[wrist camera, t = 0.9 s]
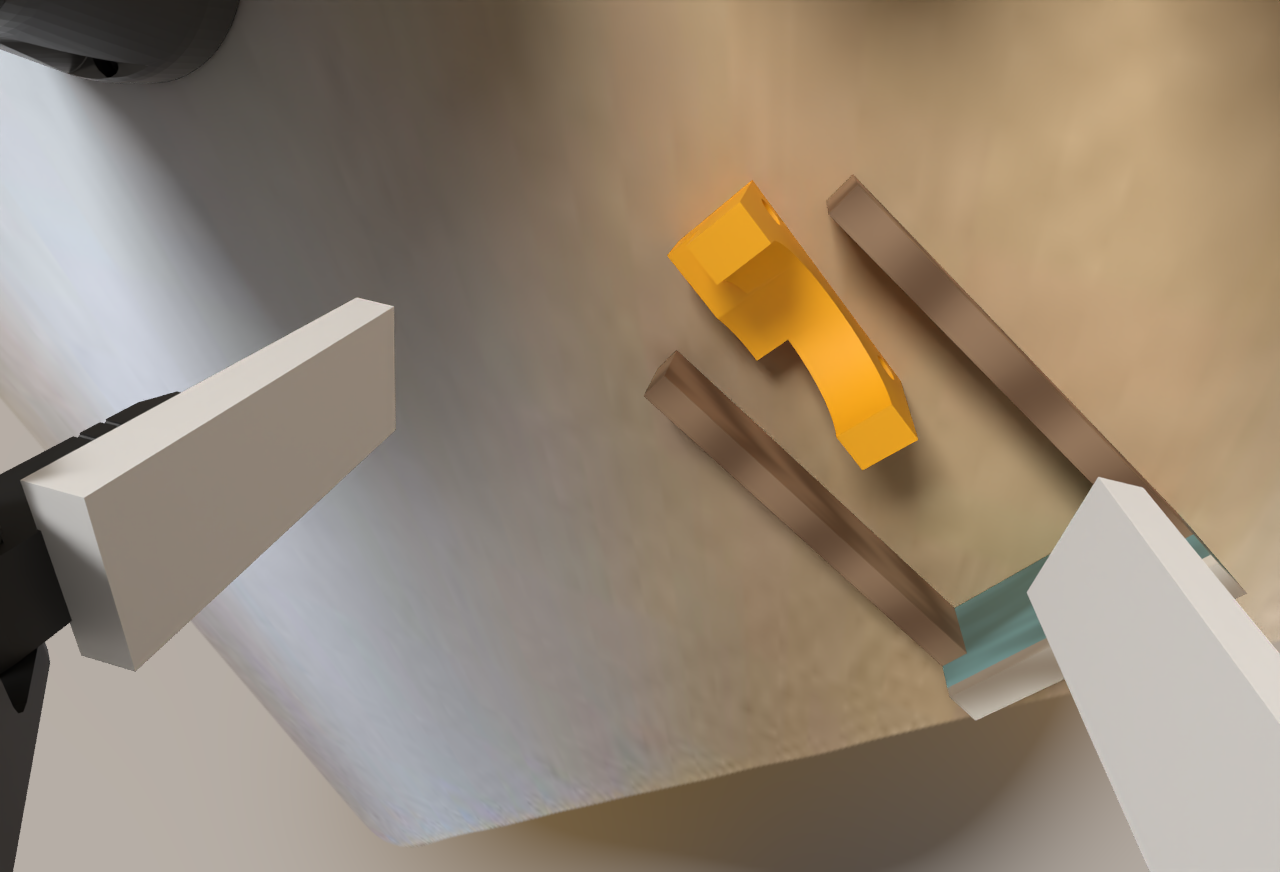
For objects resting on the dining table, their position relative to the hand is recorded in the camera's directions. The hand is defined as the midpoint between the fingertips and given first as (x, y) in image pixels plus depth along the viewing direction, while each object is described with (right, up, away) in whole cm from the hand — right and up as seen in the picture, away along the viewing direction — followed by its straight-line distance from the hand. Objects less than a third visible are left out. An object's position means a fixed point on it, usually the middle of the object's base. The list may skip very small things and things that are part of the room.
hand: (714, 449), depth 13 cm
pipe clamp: (+6, +6, +20) cm, 22 cm away
